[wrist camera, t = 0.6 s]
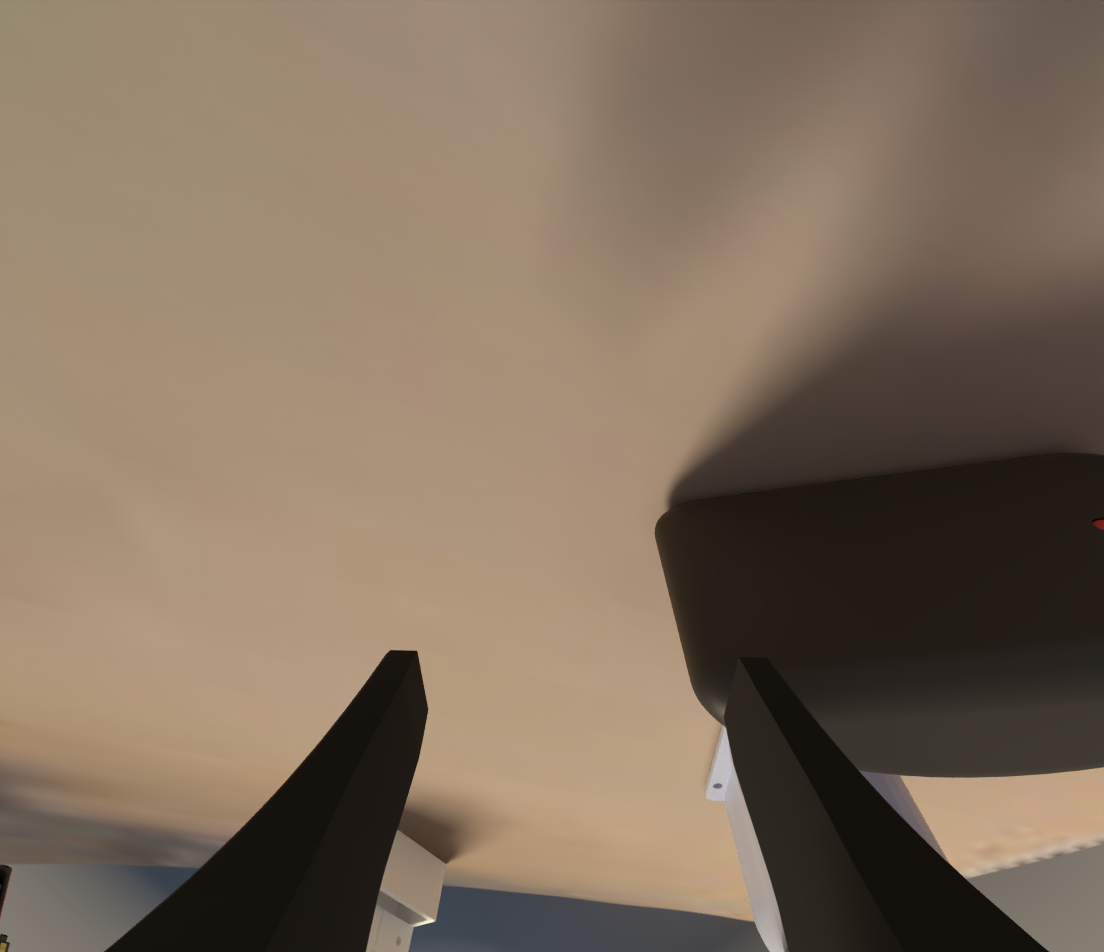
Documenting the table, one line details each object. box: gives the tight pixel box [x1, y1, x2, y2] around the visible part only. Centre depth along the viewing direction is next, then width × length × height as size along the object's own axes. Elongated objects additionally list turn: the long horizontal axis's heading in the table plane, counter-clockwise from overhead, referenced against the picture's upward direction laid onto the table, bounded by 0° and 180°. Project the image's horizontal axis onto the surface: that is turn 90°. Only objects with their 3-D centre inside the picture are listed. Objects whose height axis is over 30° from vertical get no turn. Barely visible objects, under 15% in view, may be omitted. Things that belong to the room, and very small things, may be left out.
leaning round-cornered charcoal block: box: [655, 453, 1104, 777], centre depth 16 cm, size 16×5×9 cm, turn 100°
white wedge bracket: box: [366, 829, 446, 952], centre depth 32 cm, size 4×10×9 cm, turn 32°
